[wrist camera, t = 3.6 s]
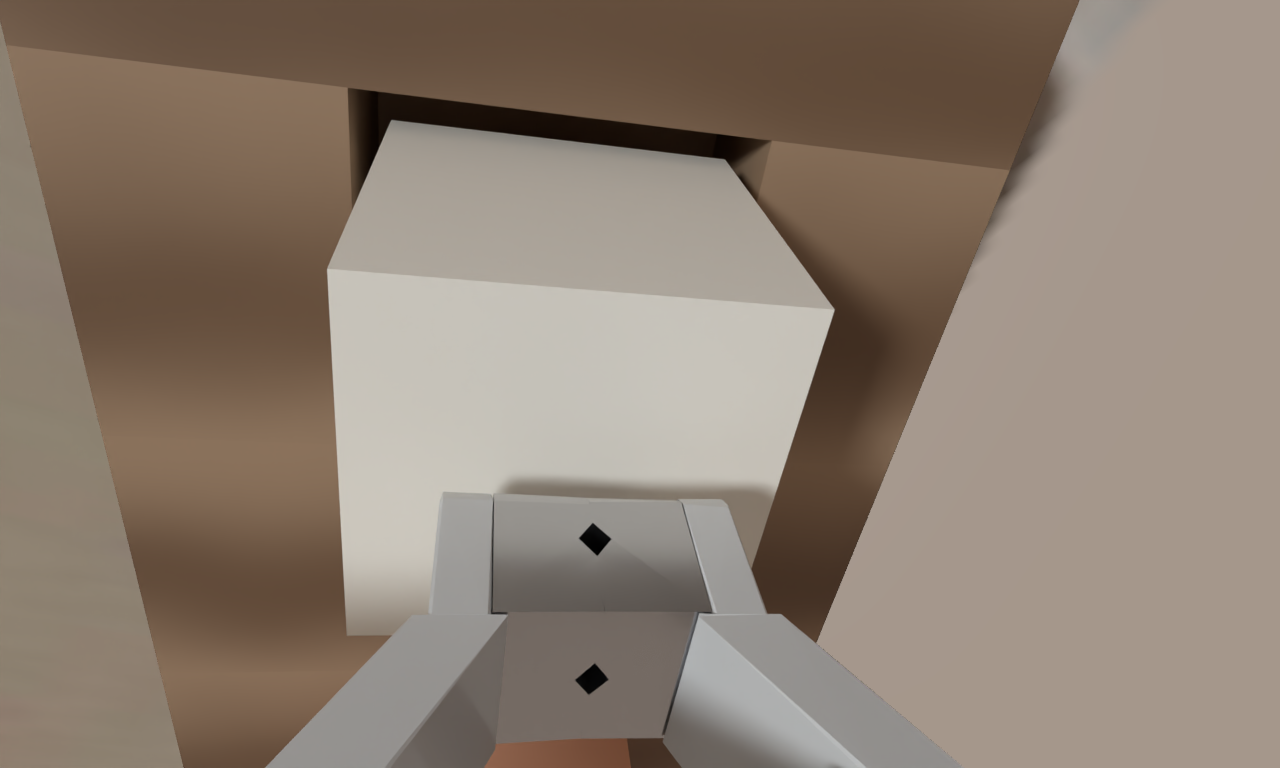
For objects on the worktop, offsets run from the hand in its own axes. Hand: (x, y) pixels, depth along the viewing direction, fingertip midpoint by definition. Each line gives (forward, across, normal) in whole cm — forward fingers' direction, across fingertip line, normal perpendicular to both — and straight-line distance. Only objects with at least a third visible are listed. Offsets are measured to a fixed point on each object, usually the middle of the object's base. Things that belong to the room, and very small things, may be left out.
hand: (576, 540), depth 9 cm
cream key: (+6, 0, 0) cm, 6 cm away
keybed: (+9, 0, +6) cm, 11 cm away
